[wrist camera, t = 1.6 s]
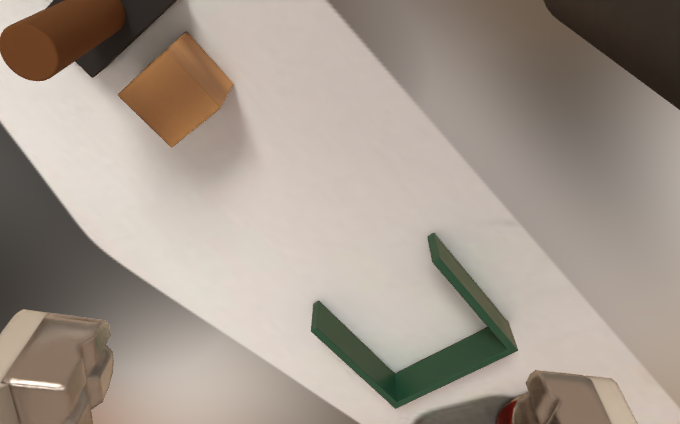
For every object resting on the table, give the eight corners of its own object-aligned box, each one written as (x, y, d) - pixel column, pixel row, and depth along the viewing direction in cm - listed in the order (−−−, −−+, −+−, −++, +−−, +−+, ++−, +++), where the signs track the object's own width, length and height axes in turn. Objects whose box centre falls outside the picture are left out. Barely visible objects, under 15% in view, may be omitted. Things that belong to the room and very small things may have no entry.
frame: (313, 303, 43) (310, 331, 40) (434, 232, 39) (439, 257, 36) (393, 380, 47) (395, 409, 45) (508, 322, 43) (518, 350, 41)
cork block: (141, 72, 33) (116, 95, 30) (186, 30, 32) (166, 50, 28) (189, 121, 35) (171, 148, 31) (234, 83, 33) (220, 107, 30)
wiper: (50, 13, 31) (-62, 66, 23) (130, -71, 29) (38, -46, 21) (105, 67, 33) (20, 136, 25) (185, -8, 31) (121, 39, 22)
